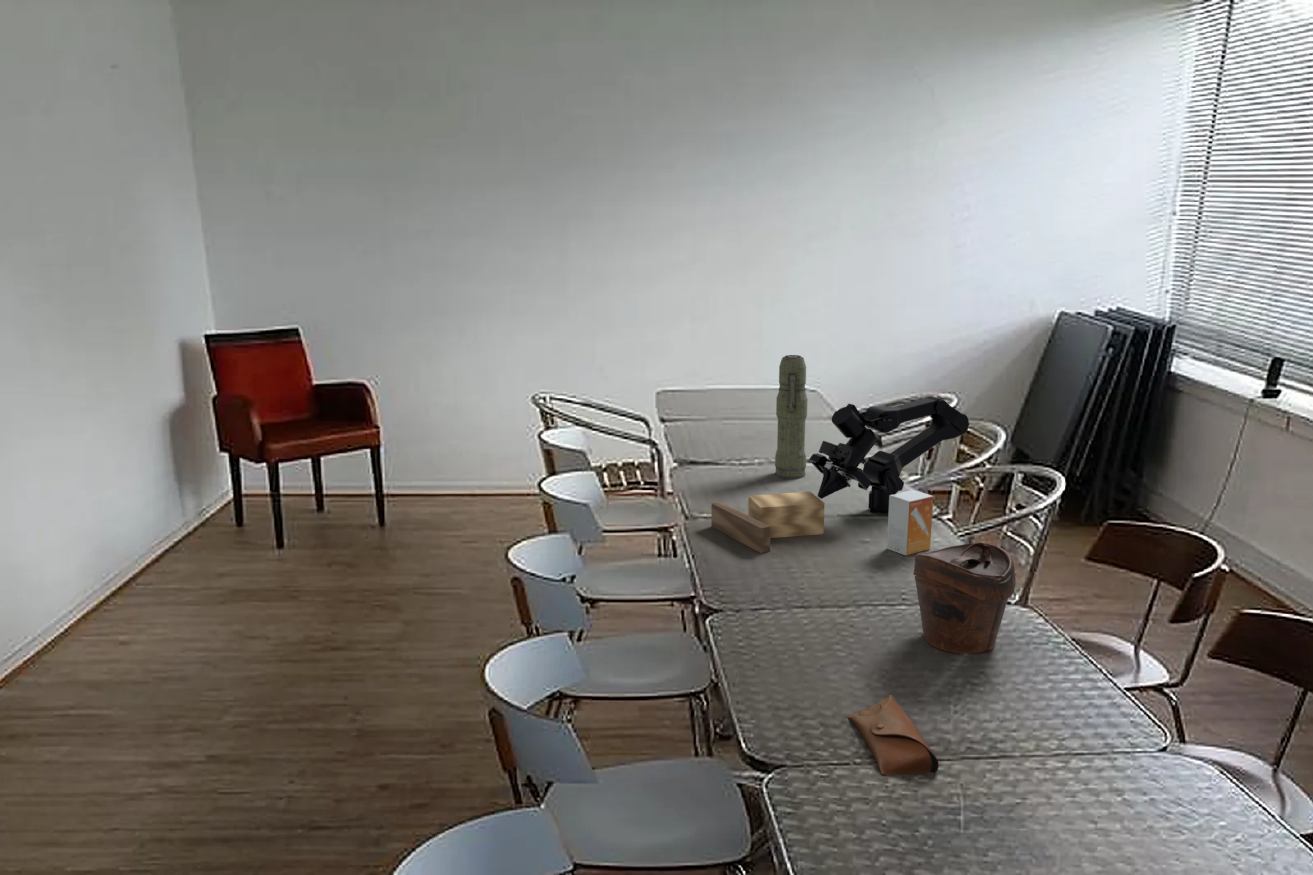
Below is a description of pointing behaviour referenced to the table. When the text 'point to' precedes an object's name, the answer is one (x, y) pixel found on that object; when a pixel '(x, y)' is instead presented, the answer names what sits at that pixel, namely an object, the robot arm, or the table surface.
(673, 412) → the table surface
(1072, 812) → the table surface
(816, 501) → the oak block
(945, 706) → the table surface
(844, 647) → the table surface
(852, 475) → the robot arm
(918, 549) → the small box
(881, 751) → the sunglasses case
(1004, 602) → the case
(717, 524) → the walnut board
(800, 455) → the thermos
